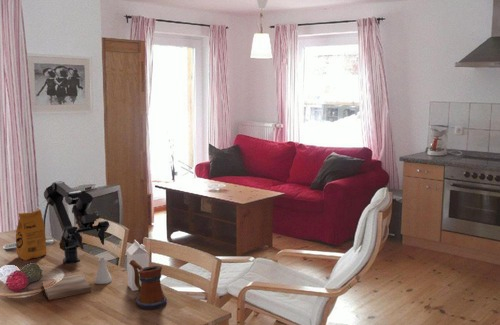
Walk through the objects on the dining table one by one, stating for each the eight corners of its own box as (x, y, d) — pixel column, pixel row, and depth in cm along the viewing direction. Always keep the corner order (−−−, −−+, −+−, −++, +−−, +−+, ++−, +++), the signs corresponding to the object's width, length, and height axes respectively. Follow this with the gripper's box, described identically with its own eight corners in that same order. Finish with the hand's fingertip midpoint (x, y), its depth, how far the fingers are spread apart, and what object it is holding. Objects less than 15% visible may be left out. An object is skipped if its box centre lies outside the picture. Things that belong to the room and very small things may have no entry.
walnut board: (42, 285, 216) (41, 281, 215) (81, 278, 224) (81, 273, 223) (49, 300, 202) (48, 295, 202) (91, 291, 210) (90, 286, 210)
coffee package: (14, 256, 251) (11, 212, 247) (40, 250, 259) (37, 207, 256) (23, 261, 244) (19, 215, 240) (49, 255, 252) (46, 210, 249)
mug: (120, 299, 203) (118, 262, 201) (144, 290, 211) (143, 254, 209) (148, 313, 191) (146, 274, 188) (173, 303, 199) (172, 265, 197)
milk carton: (132, 291, 210) (130, 245, 207) (127, 285, 216) (126, 240, 213) (149, 288, 213) (148, 243, 210) (144, 282, 220) (143, 238, 216)
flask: (114, 278, 224) (113, 256, 222) (108, 285, 216) (107, 262, 215) (98, 277, 224) (97, 255, 223) (91, 284, 217) (90, 261, 216)
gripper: (65, 209, 219) (76, 242, 213) (107, 202, 231) (119, 233, 225) (59, 223, 227) (70, 254, 220) (99, 215, 238) (111, 245, 232)
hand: (93, 246), depth 224 cm, fingers open, 9 cm apart
